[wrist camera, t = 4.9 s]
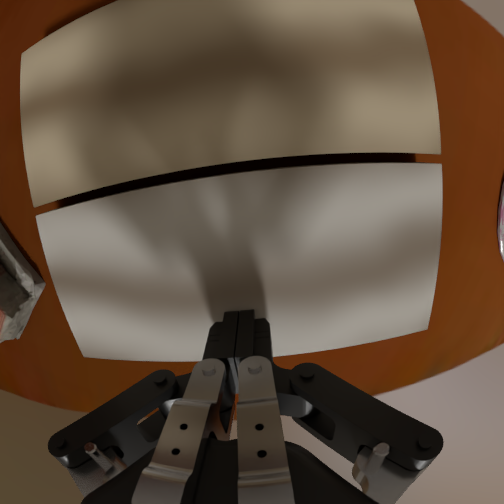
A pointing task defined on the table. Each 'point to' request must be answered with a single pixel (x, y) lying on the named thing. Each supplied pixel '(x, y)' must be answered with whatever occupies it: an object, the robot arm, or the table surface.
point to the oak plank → (221, 88)
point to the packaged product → (16, 288)
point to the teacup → (501, 223)
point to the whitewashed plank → (250, 259)
